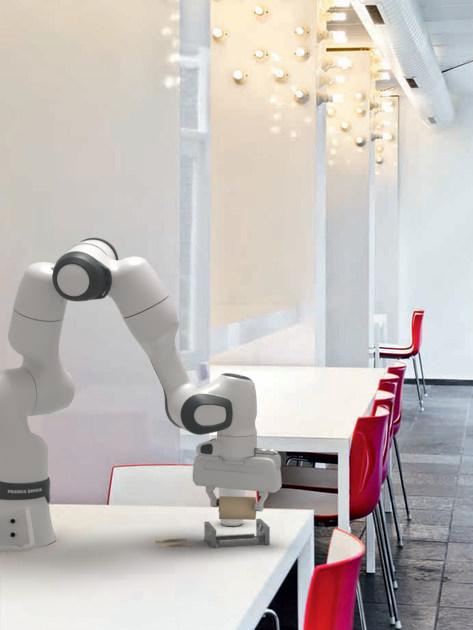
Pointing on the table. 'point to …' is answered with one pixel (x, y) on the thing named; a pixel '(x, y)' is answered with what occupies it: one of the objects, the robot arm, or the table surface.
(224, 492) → the drinking glass
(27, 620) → the table surface
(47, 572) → the table surface
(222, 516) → the roll
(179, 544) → the chock
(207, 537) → the holder
